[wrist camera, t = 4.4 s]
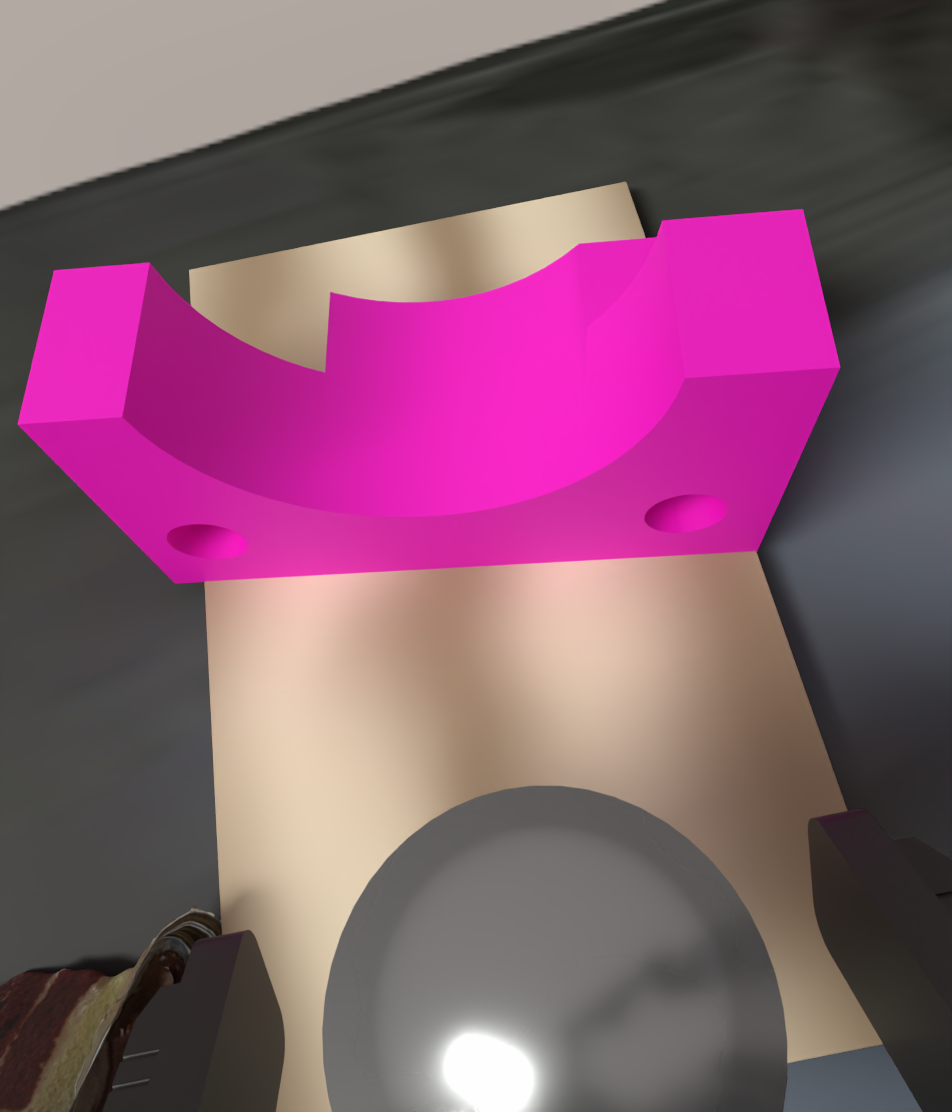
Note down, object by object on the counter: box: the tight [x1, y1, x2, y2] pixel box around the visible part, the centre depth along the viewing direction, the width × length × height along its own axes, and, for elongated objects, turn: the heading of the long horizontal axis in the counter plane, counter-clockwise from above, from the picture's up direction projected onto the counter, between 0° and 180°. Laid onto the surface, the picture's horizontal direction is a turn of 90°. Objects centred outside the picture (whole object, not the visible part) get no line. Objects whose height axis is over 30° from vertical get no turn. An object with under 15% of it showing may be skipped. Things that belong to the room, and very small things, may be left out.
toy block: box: [18, 209, 840, 583], centre depth 21 cm, size 15×6×8 cm, turn 91°
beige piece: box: [189, 182, 883, 1112], centre depth 18 cm, size 14×24×13 cm, turn 10°
